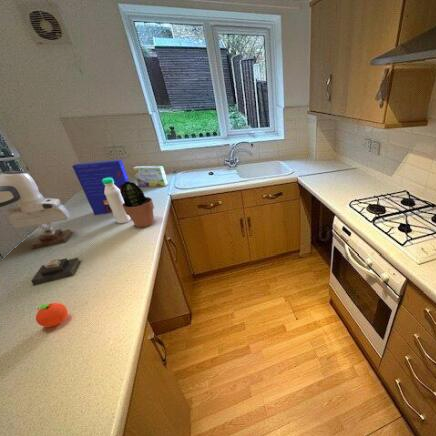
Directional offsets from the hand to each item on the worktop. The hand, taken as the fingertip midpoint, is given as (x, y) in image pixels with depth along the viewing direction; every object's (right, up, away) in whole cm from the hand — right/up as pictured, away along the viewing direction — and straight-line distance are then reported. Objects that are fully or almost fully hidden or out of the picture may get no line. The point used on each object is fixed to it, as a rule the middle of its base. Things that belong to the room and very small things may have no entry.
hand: (48, 231), depth 116 cm
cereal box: (+9, +11, +33) cm, 36 cm away
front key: (+23, -13, -21) cm, 34 cm away
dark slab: (+23, -16, -19) cm, 34 cm away
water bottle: (+23, +5, +20) cm, 30 cm away
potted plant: (+37, +3, +16) cm, 41 cm away
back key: (0, -2, +1) cm, 2 cm away
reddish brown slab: (0, -5, +3) cm, 6 cm away
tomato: (+43, -27, -40) cm, 65 cm away
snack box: (+10, +32, +71) cm, 78 cm away
